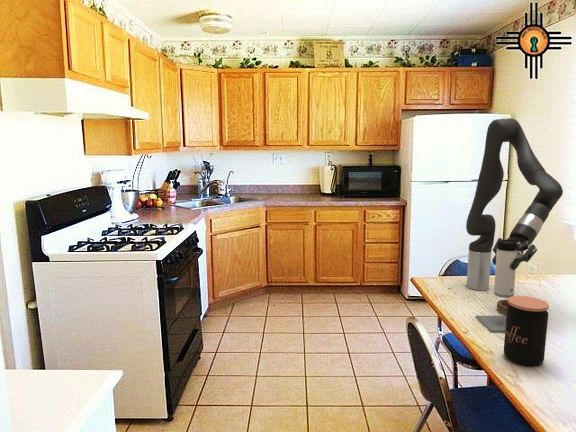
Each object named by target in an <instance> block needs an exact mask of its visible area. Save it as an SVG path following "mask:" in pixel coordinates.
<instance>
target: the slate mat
mask: <svg viewBox="0 0 576 432" xmlns="http://www.w3.org/2000/svg"><path fill="white" fill-rule="evenodd" d="M475 319H476V320H477V321H479V323H480V324H481V325H482V326H484V328H486V329H487V331H489V332H490V333H491V334H492V333H502V334H503V333H504V334H505V326H506V316H505V315H475Z"/></svg>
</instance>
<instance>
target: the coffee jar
mask: <svg viewBox="0 0 576 432" xmlns="http://www.w3.org/2000/svg"><path fill="white" fill-rule="evenodd" d="M507 299H508V303H509V305H508V306H507V314H506V326H505V333H504V338H503V339H504V340H503V341H504V342H503V355H504V356H505V358H506V359H507V360H508V361H509V362H511V363H513V364H515V365H518V366H522V367H528V368H534V367H535V368H536V367H539V366H540V365H541V364H542V363H544V361H545V353H546V345H547V344H546V343H547V334H548V323H549V312H548V310H549V309H550V304H549V303H548V302H547V301H546V300H543V299H541V298H537V297H533V296H527V295H514V296H512V297H509V298H507Z"/></svg>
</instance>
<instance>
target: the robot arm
mask: <svg viewBox="0 0 576 432" xmlns="http://www.w3.org/2000/svg"><path fill="white" fill-rule="evenodd" d="M486 130H487V131H486V136H485V143H484V150H483V151H484V153H483V157H482V162H481V166H480V167H481V168H480V172H479V175H478V178H477V179H478V180H477V184H476V189H475V192H474V197H473V200H472V201H473V202H472V203H471V206H470V210H469V212H468V215H467V219H466V225H465V228H466V229H465V230H466V233H467V234H468V235H469V236H479V237H478V238H477V239H475V240H474V241H471V242H470V243H469V245H468V258H467V273H466V275H467V276H466V287H467V288H468V289H470V290H474V291H487V290H489V287H490V278H491V277H490V276H491V265H492V264H493V265H494V266H496V254H497V243H498V241H500V240H503V239H502V238H501V237H498V239H497V240H496V242H495V235H496V234H495V233H496V219H495V218H494V216H493V215H492V214H483V213H484V211H485V209H486V207H487V206H488V204H489V203H491V201H492V200H493V199H494V198H495V197H496V196H497V195H498V193H500V190H501V187H502V185H503V181H504V177H505V173H504V172H505V171H504V167H503V165H502V161H501V157H500V155H501V152H502V151H501V150H502V146H503V144H504V143H509V144H511V146H512V147H513V148H514V150H515V153H516V163H517V166H518V169H519V171H520V173H521V174H522V176H523V177H524V179H525V180H526V182H527V183H528V184H529V185H530V186H536V187H537V188H538V189H539V190H538V192H537V194H536V195H535V197H534V198H533V200H532V202H531V204H530V205H529V206H528V207H527V209H525V212H524V213H523V214H522V216H521V217H520V218H519V219H518V221H517V222H516V224H515V225H514V227H513V229H512V230H511V232H510V233H509V237H508V238H507V239H505V240H518V241H519V243H518V242H517V254H516V258H515V259H514V260H513V262H512V263H511V265H510V268H511V269H512V270H515V269H518V267H519V266H520V264H521V263H522V262H525V263H528V262H529V261H530V260H531V259H532V257H533V256H534V255H535V254H536V253H537V251H538V248H537V247H536V245H535V244H533V242H534V241H535V240H536V238H537V236H538V235H539V233H540V231H541V230H542V227H543V225H544V224H545V222H546V220H547V219H548V217H549V215H550V212H552V210H553V208H554V207H555V206H556V204H557V203H558V202H559V200H560V199H561V197H562V196H563V193H564V190H563V188H562V185H561V183H560V182H559V181H557V179H555V178H554V177H553V176H552V175H550V174H549V173H548V172H547V171H546V170H545V168H544V166H543V165H542V163H541V162H540V161H539V159H538V158H537V156H536V155H535V153H534V152H533V149H532V147H531V145H530V143H529V140H528V139H527V137H526V133H525V132H524V129H523V128H522V126H521V124H520V122H519V121H518V120H517V119H515V118H511V117H509V118H497V119H493V120H492V121H491V122H490V123H489V125H488V127H487V129H486ZM494 242H495V245H494ZM492 252H493V253H494V254H495V255H494V256H493V258H492ZM491 263H492V264H491Z"/></svg>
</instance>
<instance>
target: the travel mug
mask: <svg viewBox="0 0 576 432" xmlns="http://www.w3.org/2000/svg"><path fill="white" fill-rule="evenodd" d="M517 242H518V243H519V241H518V240H506V239H502V240H500V241H498V243H497V254H495V255H496V265H495V271H494V287H493V289H494V290H493V294H494V296H496V297H498V298H503V299H508V298H509V297H512V296H515V281H516V269H517V268H516V269H515V270H512V269H511V268H510V265H511V263H512V262H513V260H514V259H515V258H517V257H516V254H517Z"/></svg>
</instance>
